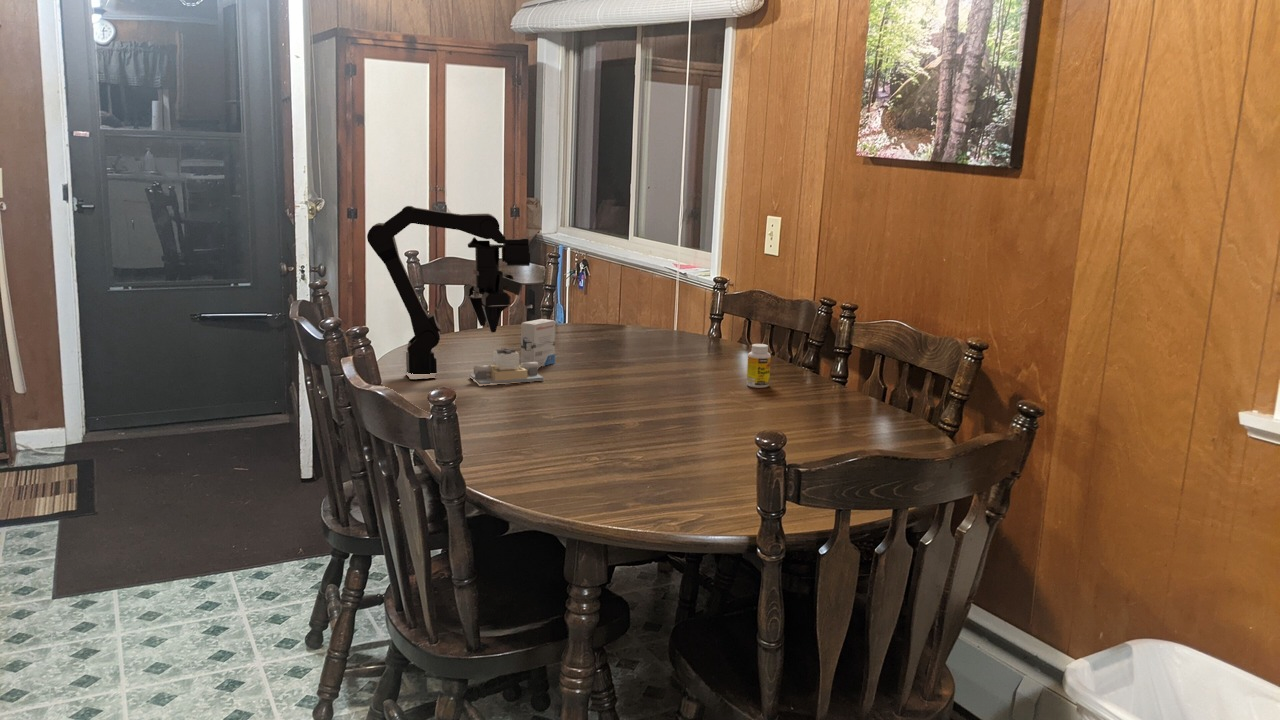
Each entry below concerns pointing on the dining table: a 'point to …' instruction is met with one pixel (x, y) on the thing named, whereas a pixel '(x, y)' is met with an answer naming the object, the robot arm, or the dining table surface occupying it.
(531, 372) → the shaft bench
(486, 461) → the dining table surface
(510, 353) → the block
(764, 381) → the supplement bottle
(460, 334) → the dining table surface
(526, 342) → the ink box
